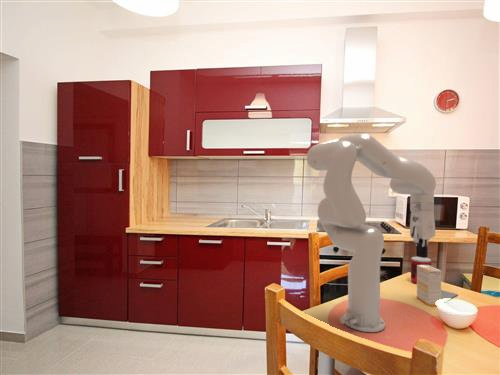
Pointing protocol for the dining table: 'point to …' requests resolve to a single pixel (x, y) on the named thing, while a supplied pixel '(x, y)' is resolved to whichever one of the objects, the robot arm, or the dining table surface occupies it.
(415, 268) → the canned food
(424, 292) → the supplement box
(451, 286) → the dining table surface
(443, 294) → the grey rubber mat
